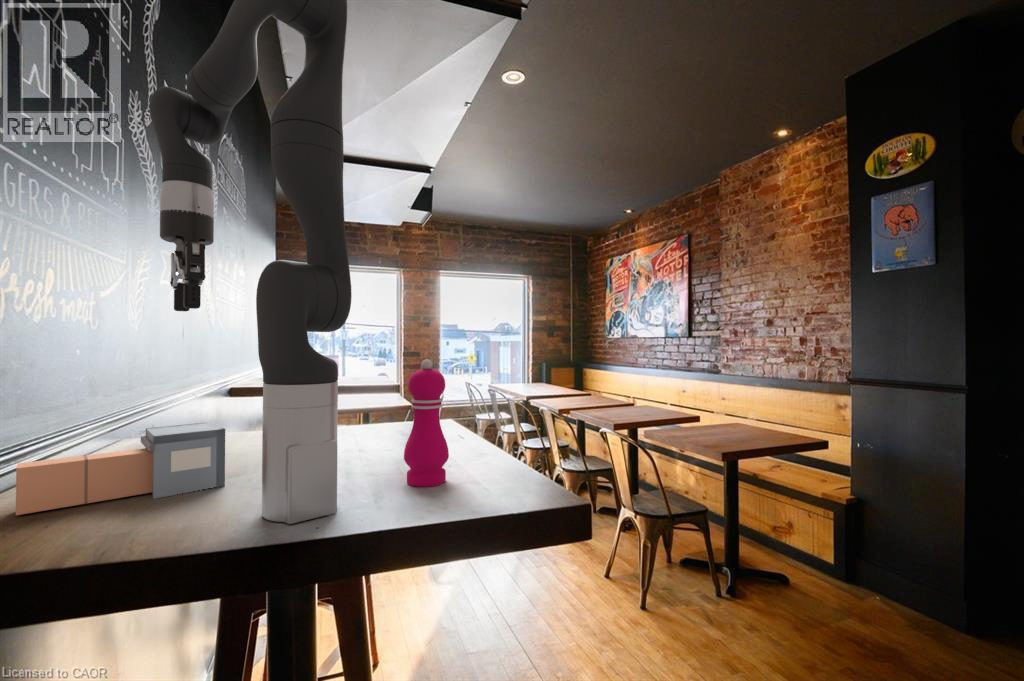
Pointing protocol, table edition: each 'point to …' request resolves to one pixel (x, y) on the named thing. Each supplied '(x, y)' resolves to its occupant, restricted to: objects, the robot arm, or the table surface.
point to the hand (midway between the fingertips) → (186, 309)
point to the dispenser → (186, 457)
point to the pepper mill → (426, 429)
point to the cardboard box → (82, 480)
